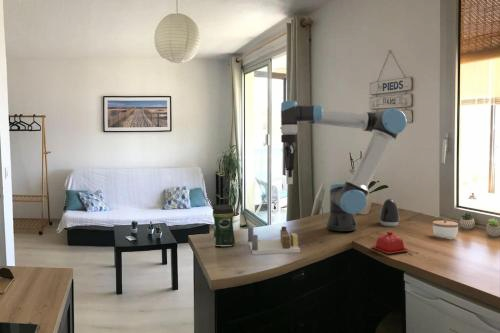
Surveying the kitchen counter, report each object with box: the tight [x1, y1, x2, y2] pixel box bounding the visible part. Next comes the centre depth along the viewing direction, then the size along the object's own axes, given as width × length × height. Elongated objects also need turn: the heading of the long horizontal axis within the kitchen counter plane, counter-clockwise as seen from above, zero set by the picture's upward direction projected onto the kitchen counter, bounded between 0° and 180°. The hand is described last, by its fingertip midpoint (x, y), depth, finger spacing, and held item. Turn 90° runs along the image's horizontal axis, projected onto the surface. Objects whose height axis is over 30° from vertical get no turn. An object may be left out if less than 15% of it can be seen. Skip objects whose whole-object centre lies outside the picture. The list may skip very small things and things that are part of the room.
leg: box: [279, 226, 291, 248], centre depth 168 cm, size 14×3×6 cm, turn 179°
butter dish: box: [371, 230, 410, 254], centre depth 162 cm, size 12×12×8 cm
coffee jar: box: [212, 204, 236, 246], centre depth 173 cm, size 10×8×19 cm
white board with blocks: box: [247, 227, 301, 255], centre depth 168 cm, size 20×18×8 cm
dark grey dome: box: [379, 198, 401, 227], centre depth 207 cm, size 10×10×15 cm
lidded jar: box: [432, 218, 459, 241], centre depth 179 cm, size 11×11×9 cm
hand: (289, 183), depth 183 cm, fingers closed
